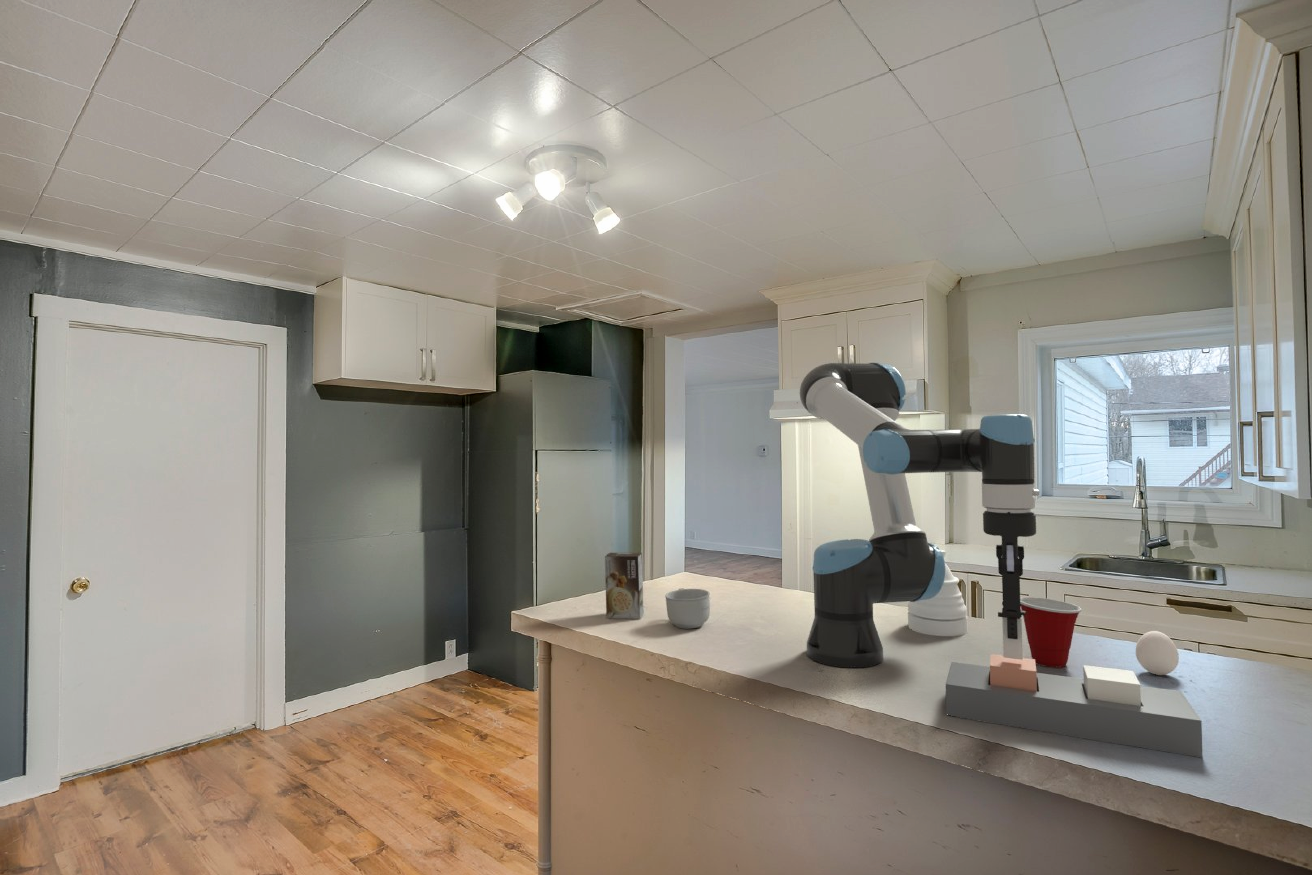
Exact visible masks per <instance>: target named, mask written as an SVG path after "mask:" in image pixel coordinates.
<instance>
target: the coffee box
mask: <svg viewBox="0 0 1312 875" xmlns="http://www.w3.org/2000/svg"><path fill="white" fill-rule="evenodd" d="M643 572H644V571H643V552H609V553H607V554H606V555H605V556H604V573H605V574H604V575H605V576H604V577H605V578H604V579H605V608H606V610H605V611H606V612H605V613H606V617H605V618H606V619H617V620H618V619H620V620H621V619H623V620H624V619H625V620H626V619H628V620H629V619H630V620H631V619H633V620H641V619H642V617H643V616H644V614H645V609H644V607H645V606H644V583H643V582H644V578H643V574H644V573H643Z"/></svg>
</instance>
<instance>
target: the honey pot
mask: <svg viewBox="0 0 1312 875" xmlns="http://www.w3.org/2000/svg"><path fill="white" fill-rule="evenodd" d="M939 550H940V551H941V552H942V554H943V557H944V558H945V557H946V553H947V552H946V550H943V549H939ZM959 582H960V579H959V578H958V577H957V576H954V575H953V573H952V570H951V568H949V566H948V564H947V563H946V562H945V579H944V583H943V585H942V587H941V590H940V591H939V593H938V594H937V595H936V596H935V597H933V598H931V599H927V600H919V601H916V602H910V601H908V603H907V611H908V612H907V627H908V628H909V629H910V630H911V629H912V630H911V631H914V632H916V633H919V634H924V635H929V636H937V637H959V636H963V635H965V634H968V631H969V630H968V628H969V626H968V608H967V606H966V605H965V601H964V599H963V596H962V595H963V593H962V592H961V591H960V588H959V586H958V584H959Z"/></svg>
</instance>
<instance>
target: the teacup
mask: <svg viewBox="0 0 1312 875" xmlns="http://www.w3.org/2000/svg"><path fill="white" fill-rule="evenodd" d="M710 595H711V594H710V592H709V591H708V590H706V589H701V588H682V587H680V588H678V589H676V590H672V591H669V592H667V593H666V594H665V595H664V596H665V603H666V604H665V605H666V612H667V613H666V614H667V618H668V620H669V622H670V623H671V624H672V625H674V626H675V627H677V628H678V629H685V630H687V629H689V630H690V629H696V628H700V627H702V626H703V625H704V624H705V623H706V622H707V621H708V620H709V618H710V614H711V611H710V610H711V604H710Z"/></svg>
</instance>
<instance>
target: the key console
mask: <svg viewBox="0 0 1312 875" xmlns="http://www.w3.org/2000/svg"><path fill="white" fill-rule="evenodd" d="M1036 674H1037V692H1036V691H1029V690H1022V689H1015V688H1008V687H1001V686H993V685H990V666H987V665H980V664H972V663H964V662H957V661H955V662H954V661H951V662H950V665H949V670H948V673H947V676H946V681H945V710H946V711H945V713H946V714H948V715H951V716H950V717H952V716H956V717H955V718H958V717H959V718H960V719H964V718H967V719H966V720H971V719H972V720H971V721H977V720H980V721H979V722H983V721H985V722H984V723H989V724H995V723H997V724H996V725H1001V724H1002V725H1001V726H1007V725H1008V727H1013V728H1019V727H1021V728H1020V729H1025V728H1026V729H1027V730H1033V731H1039V732H1044V731H1046V732H1045V733H1050V732H1053V733H1052V734H1056V733H1057V735H1063V736H1068V737H1076V738H1083V739H1087V740H1092V741H1093V740H1094V741H1098V742H1099V741H1100V742H1104V743H1105V742H1106V743H1111V744H1116V745H1123V746H1128V747H1129V746H1130V747H1134V748H1141V749H1148V750H1153V751H1154V750H1155V751H1160V752H1165V753H1166V752H1167V753H1173V754H1177V755H1179V754H1180V755H1183V756H1190V757H1197V758H1203V756H1204V755H1203V730H1202V729H1203V727H1202V726H1203V724H1202V719H1201V717H1200V716H1199V715H1198V713H1197V712H1196V711H1195V709H1194V708H1193V707H1192V704H1191V703H1190V701H1188V698H1187V697H1186V696H1185V695H1184V694H1183V692H1182V691H1181V690H1175V689H1167V688H1159V687H1158V688H1157V687H1150V686H1144V685H1143V686H1142V685H1140V692H1141V706H1136V705H1129V704H1122V703H1115V702H1108V701H1101V700H1093V699H1086V696H1085V692H1084V678H1082V677H1081V678H1080V677H1072V676H1066V675H1065V676H1064V675H1057V674H1050V673H1043V672H1042V673H1041V672H1036ZM946 714H945V715H946Z"/></svg>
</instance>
